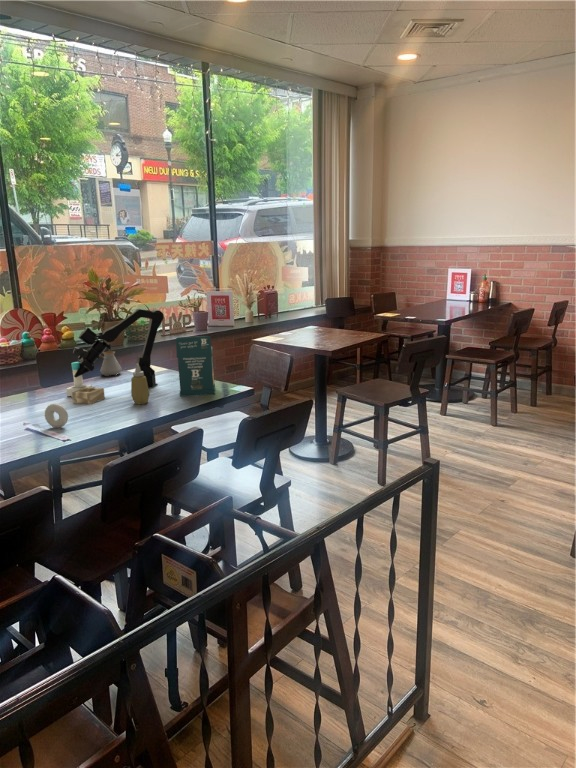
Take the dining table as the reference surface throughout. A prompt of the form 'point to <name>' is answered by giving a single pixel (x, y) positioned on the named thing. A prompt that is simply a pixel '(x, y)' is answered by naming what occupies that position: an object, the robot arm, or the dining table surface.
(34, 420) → the dining table surface
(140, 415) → the dining table surface
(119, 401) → the dining table surface
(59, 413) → the donut
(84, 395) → the socket block
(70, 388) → the holster
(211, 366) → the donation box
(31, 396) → the dining table surface
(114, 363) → the coffee pot
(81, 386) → the plug
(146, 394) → the squeeze bottle
